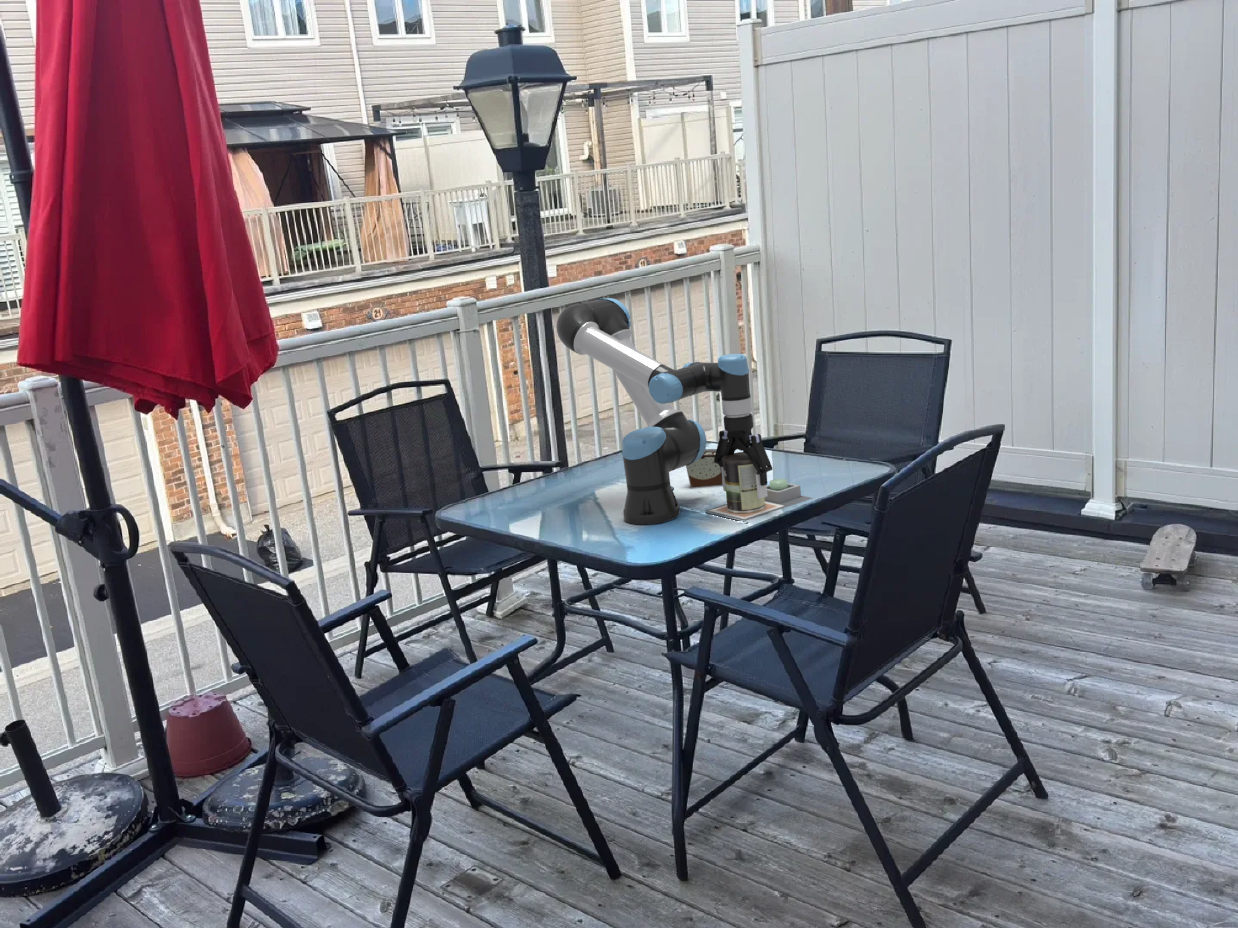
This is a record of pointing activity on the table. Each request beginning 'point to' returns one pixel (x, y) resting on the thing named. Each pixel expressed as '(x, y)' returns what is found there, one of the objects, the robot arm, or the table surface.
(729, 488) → the coffee can
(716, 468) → the food container
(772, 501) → the pad with button box
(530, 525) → the table surface
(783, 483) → the button
